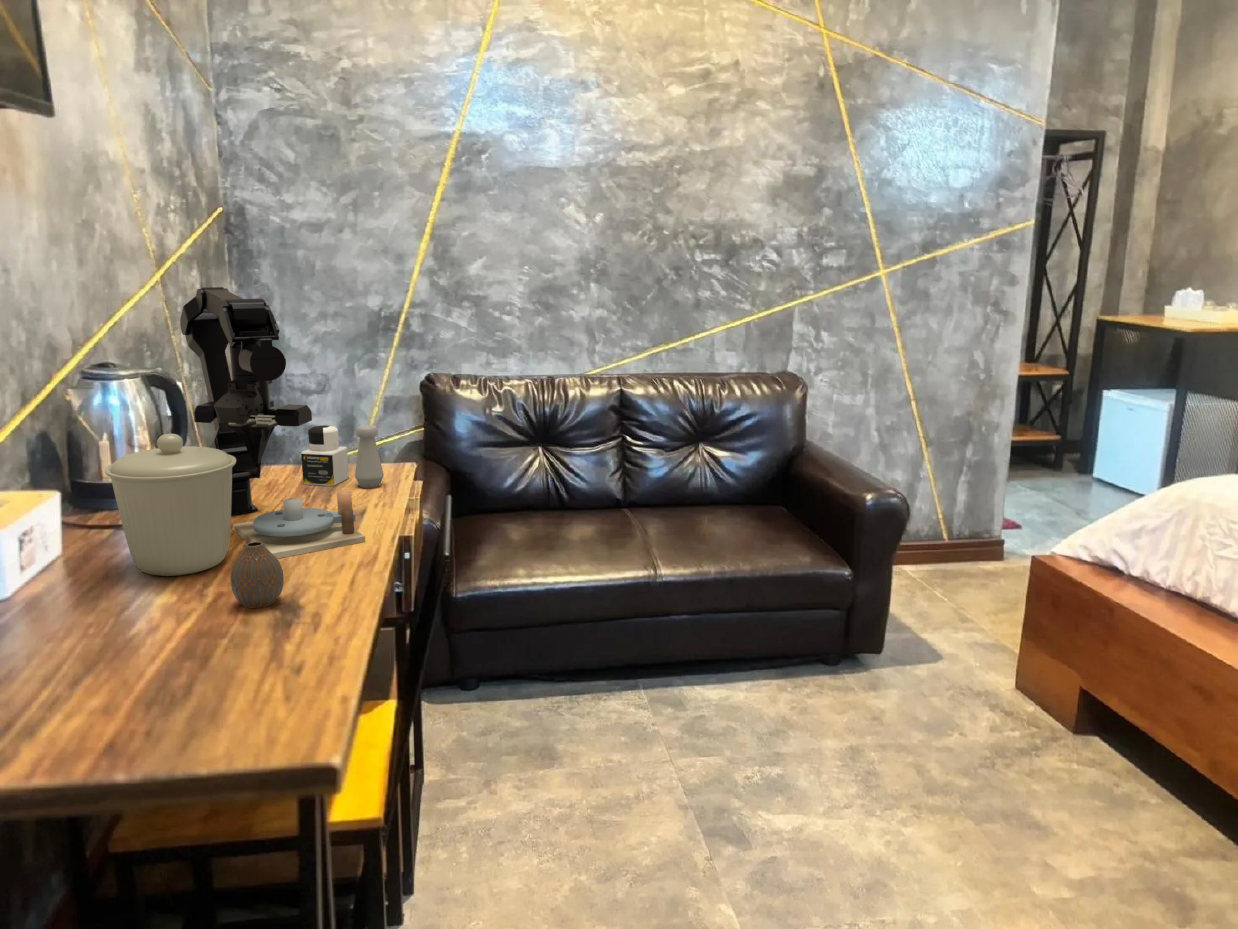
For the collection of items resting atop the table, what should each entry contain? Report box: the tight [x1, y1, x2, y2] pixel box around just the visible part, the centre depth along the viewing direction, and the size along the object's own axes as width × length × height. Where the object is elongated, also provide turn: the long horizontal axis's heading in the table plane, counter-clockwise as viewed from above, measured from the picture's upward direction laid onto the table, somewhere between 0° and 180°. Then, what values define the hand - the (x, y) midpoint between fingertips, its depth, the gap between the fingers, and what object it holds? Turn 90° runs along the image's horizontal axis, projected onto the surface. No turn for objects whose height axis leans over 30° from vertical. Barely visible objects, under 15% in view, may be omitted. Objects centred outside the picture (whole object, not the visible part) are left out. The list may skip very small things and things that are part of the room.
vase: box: [230, 541, 285, 609], centre depth 127 cm, size 7×7×9 cm
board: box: [232, 508, 366, 560], centre depth 157 cm, size 20×16×5 cm
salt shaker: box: [354, 424, 385, 489], centre depth 190 cm, size 6×6×13 cm
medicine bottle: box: [300, 425, 350, 487], centre depth 194 cm, size 7×7×12 cm
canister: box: [104, 433, 236, 577], centre depth 140 cm, size 18×18×21 cm
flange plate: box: [253, 490, 357, 537], centre depth 155 cm, size 16×13×5 cm
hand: (256, 462), depth 158 cm, fingers closed
